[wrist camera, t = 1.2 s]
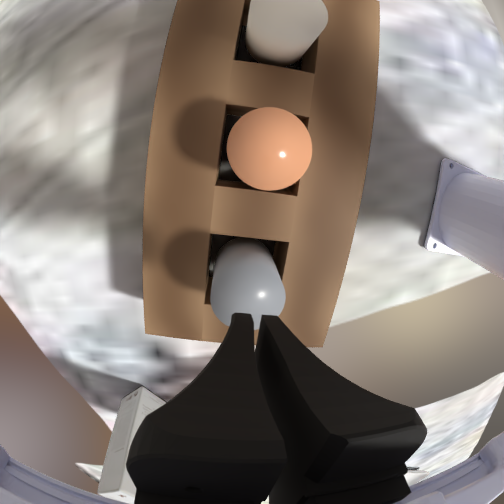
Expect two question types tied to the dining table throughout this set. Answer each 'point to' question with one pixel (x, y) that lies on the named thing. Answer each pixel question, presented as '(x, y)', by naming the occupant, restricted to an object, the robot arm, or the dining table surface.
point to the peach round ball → (269, 148)
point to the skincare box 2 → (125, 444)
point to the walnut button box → (239, 193)
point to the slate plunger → (246, 282)
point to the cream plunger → (283, 29)
